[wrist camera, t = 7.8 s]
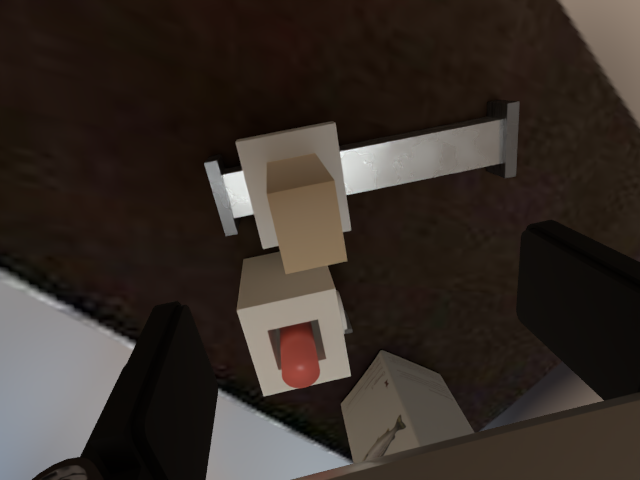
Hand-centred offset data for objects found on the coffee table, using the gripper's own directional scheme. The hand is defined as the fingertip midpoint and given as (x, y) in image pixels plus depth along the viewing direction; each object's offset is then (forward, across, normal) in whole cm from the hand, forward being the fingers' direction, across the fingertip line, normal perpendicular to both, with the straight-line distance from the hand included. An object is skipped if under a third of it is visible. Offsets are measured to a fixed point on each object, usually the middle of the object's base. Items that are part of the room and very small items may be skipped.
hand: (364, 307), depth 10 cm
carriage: (+17, +1, 0) cm, 17 cm away
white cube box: (+18, +3, +10) cm, 20 cm away
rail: (+18, -4, 0) cm, 18 cm away
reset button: (+13, +3, +9) cm, 16 cm away
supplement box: (+18, -4, +22) cm, 29 cm away
